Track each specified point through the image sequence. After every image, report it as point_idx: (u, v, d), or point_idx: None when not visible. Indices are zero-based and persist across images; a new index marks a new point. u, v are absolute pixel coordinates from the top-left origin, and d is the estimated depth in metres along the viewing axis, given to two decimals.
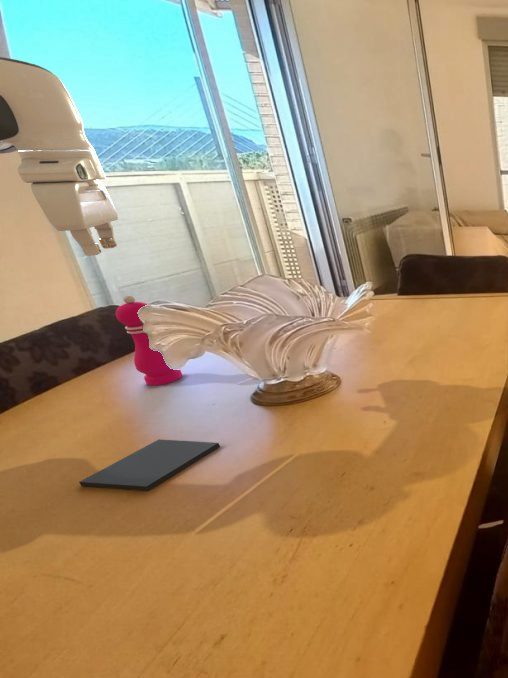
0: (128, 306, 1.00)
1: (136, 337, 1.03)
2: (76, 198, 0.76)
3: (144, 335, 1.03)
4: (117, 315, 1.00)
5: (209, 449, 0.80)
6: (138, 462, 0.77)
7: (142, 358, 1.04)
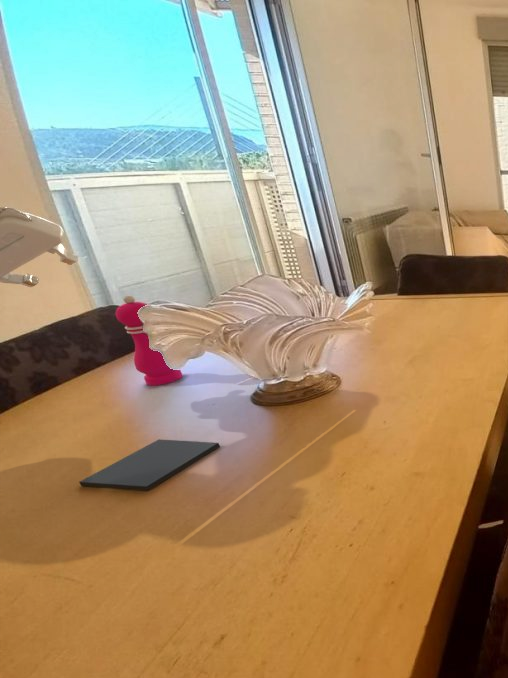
0: (128, 306, 1.00)
1: (136, 337, 1.03)
2: None
3: (144, 335, 1.03)
4: (117, 315, 1.00)
5: (209, 449, 0.80)
6: (138, 462, 0.77)
7: (142, 358, 1.04)
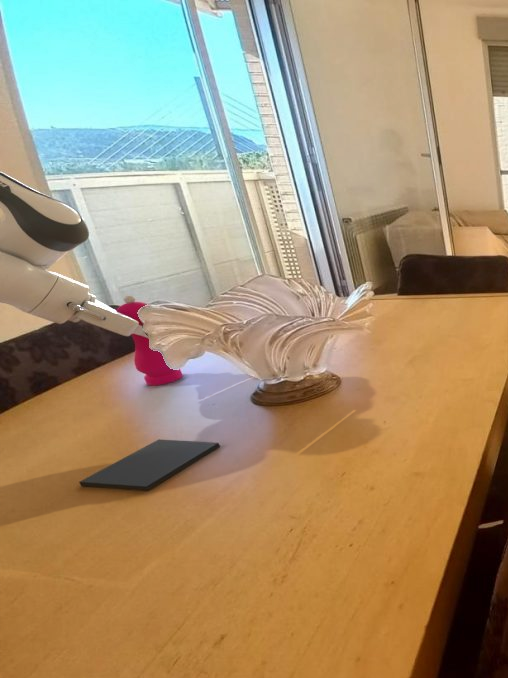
0: (128, 306, 1.00)
1: (136, 337, 1.03)
2: None
3: None
4: None
5: (209, 449, 0.80)
6: (138, 462, 0.77)
7: (142, 358, 1.04)
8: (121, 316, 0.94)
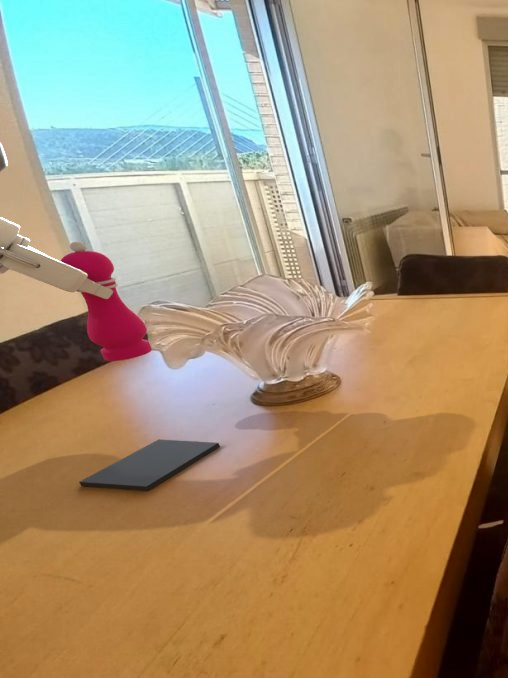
0: (76, 255, 0.76)
1: (88, 297, 0.79)
2: None
3: None
4: None
5: (209, 449, 0.80)
6: (138, 462, 0.77)
7: (97, 325, 0.80)
8: (62, 264, 0.70)
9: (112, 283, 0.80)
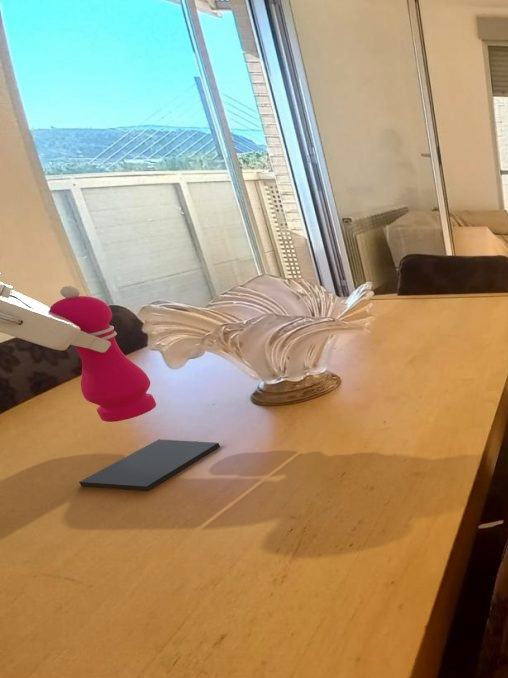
0: (68, 302, 0.65)
1: (82, 350, 0.67)
2: None
3: None
4: None
5: (209, 449, 0.80)
6: (138, 462, 0.77)
7: (92, 381, 0.68)
8: (50, 319, 0.59)
9: (110, 332, 0.69)
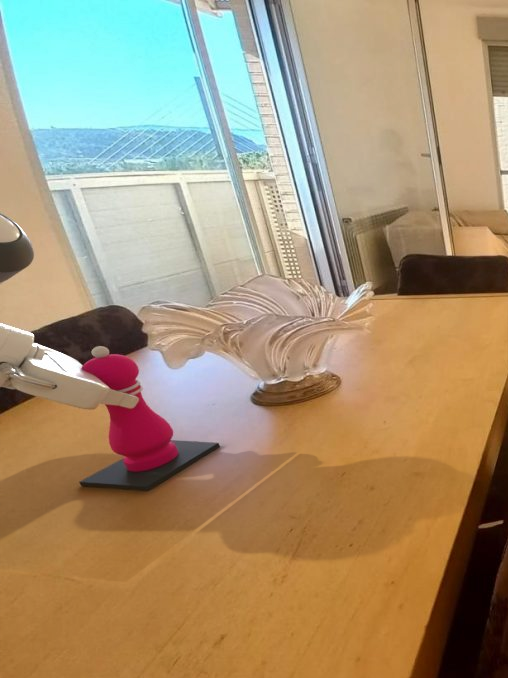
0: (98, 362, 0.69)
1: (111, 405, 0.71)
2: None
3: None
4: None
5: (209, 449, 0.80)
6: None
7: (120, 435, 0.72)
8: (81, 381, 0.62)
9: (137, 388, 0.72)
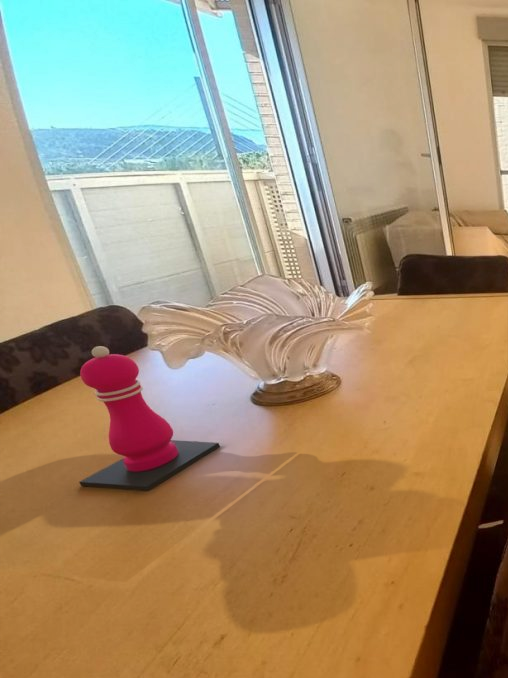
0: (98, 362, 0.69)
1: (111, 405, 0.71)
2: None
3: (123, 402, 0.71)
4: (82, 376, 0.68)
5: (209, 449, 0.80)
6: None
7: (120, 435, 0.72)
8: None
9: (137, 388, 0.73)
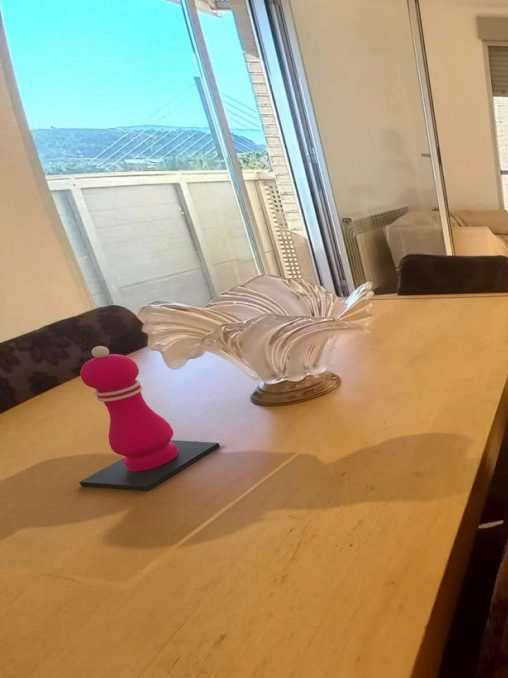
0: (98, 362, 0.69)
1: (111, 405, 0.71)
2: None
3: (123, 402, 0.71)
4: (82, 376, 0.68)
5: (209, 449, 0.80)
6: None
7: (120, 435, 0.72)
8: None
9: (137, 388, 0.73)
